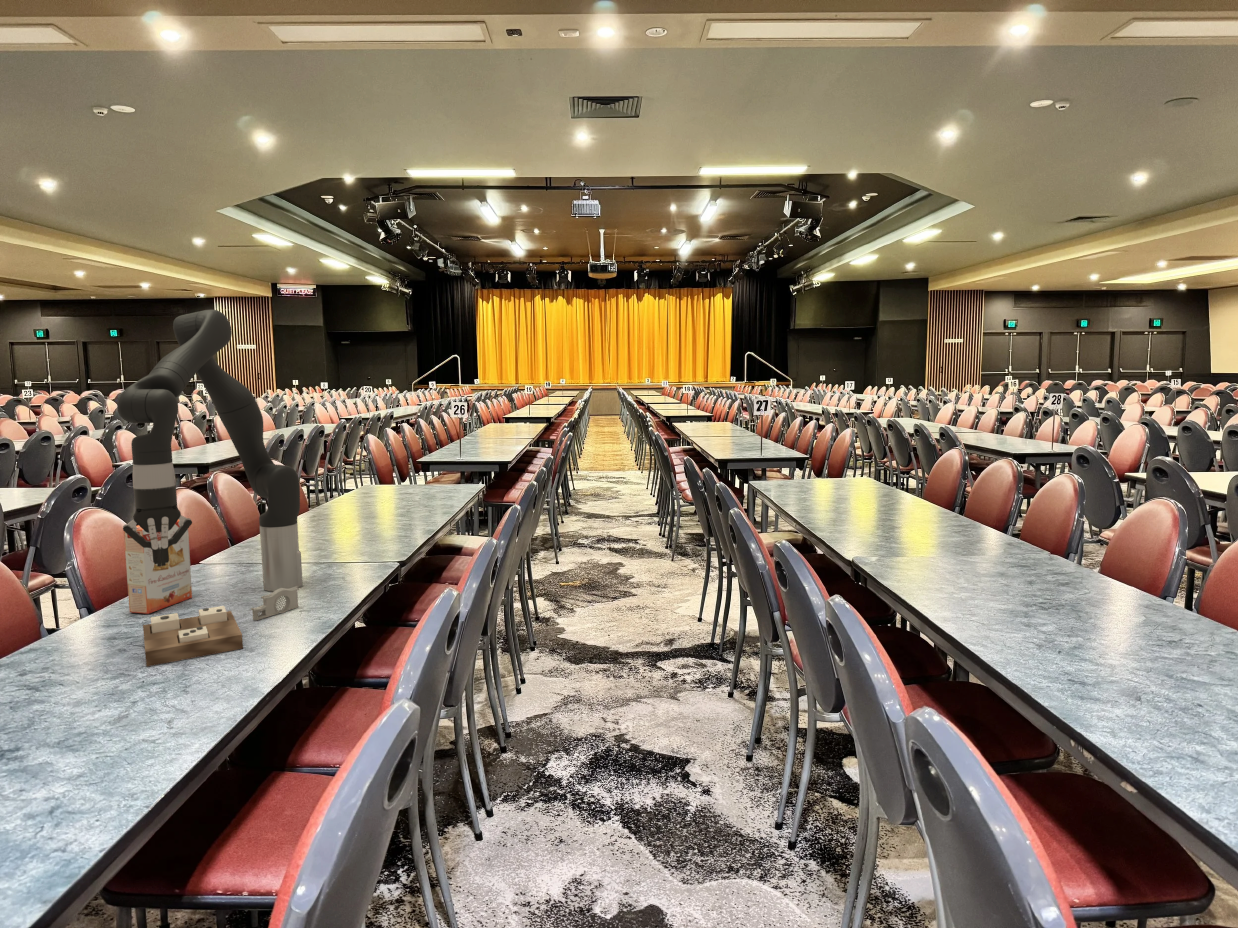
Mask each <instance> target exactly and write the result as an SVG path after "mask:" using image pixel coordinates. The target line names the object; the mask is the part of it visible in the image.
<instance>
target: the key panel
mask: <svg viewBox="0 0 1238 928" xmlns="http://www.w3.org/2000/svg"><path fill="white" fill-rule="evenodd" d="M226 611H227V610H226ZM179 624H180V629H175V630H169V631H163V632H157V633H152V627H151V623H147V624H143V625H142V628H143V629H142V630H143V631H142V633H143V641H144V642H143V643H144V653H145V654H144V655H145V665H146V667H147V668H148V667H151V666H156V665H157V666H159V665H163V664H167V663H174V662H178V661H179V662H180V661H183V660H188V659H189V660H190V659H193V658H200V657H204V656H210V655H217V654H220V653H226V652H232V651H238V650H241V649H244V643H243V634H242V632H241V629H240V627H239V625H238V623H237V621H236V619H235V616H234V615H233V612H232V610H228V611H227V621H223V622H217V623H211V624H205V625H200V621H199V615H197V616H196V615H195V616H192V617H186V618H179ZM204 626H206V628H207V631H208V638H206V639H200V640H195V641H189V642H183V643H179V634H178V631H181V630H186V629H192V628H197V627H204Z"/></svg>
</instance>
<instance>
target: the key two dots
mask: <svg viewBox="0 0 1238 928" xmlns="http://www.w3.org/2000/svg"><path fill="white" fill-rule="evenodd" d="M198 616H199V621H200V625H205V624H211V623H217V622H223V621H227V609H226V607H225V605H221V606H214V607H209V608H208V607H206V608H203V609H198Z"/></svg>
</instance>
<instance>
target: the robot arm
mask: <svg viewBox="0 0 1238 928" xmlns="http://www.w3.org/2000/svg"><path fill="white" fill-rule="evenodd" d="M172 328H173V329H172V330H173V333H174V337H175V339H176V341H177V343H178V345H179V347H177V348H175V349H174V350H172V351H171V352H169V353H167V354H166V355H164V356H163V357H162V358H161V359H160V360H159V361H158V362H157V363H156V365H154V367H153V368H152V370H151V371H150V372H149V374H147V375H145V376H143V377H142V378H140V379H139V380H137V381H135V382H134V383H132V384H131V385H130V386H128V387H127V388H125V389H124V390H123V391H122V392H121V394H120V396H119V398H118V401H117V404H116V408H117V412H118V414H119V416H120V418H121V419H123V421H126V422H127V423H130V424H131V423H132V424H152V428H151V430H150V432H149V433H146V434H142V435H137V436H135V437H133V438H132V440H131V443H130V444H131V454H132V455H131V457H132V486H133V495H134V496H133V499H134V513H133V517H132V520H130V521H129V522H128V523H127V524H123V526H122V530H123V533H124V532H126V533H127V534H128V535H129V536H130V537H131V538H133V539H134V540H135V541H136V542H137V543H138V544H140V545H141V546H142V547H143V548H151V549H152V553H153V562H154V564H157V565H158V566H166V563H168V562H169V553H168V548H169V547H170V546H171V545H173V544H177V542H178V541H179V540H180V539H181V537H182V536H183V535H184V533H185V532H186V531H187V529H188V530H189V528H190V527H191V525H192V524H193V520H192V519H191V518H189V517H185V516H183V515H182V513H181V511H180V510H179V508H178V498H177V497H178V496H177V495H178V494H177V485H176V484H177V483H176V482H177V480H176V471H175V468H174V463H173V451H172V439H173V435H174V430H175V426H176V425H175V424H176V421H177V417H178V412H179V403H178V399H177V398H178V397H179V396H180V395H181V394H182V393H183V391H184V390H185V388H186V387H187V386H188V384H189V382H190V381H191V380H192V378H193V377H194V376H195V375H196V374H197V375H198V378H199V379H200V381H201V383H202V385H203V386H204V389H205V391H206V392H207V394H208V397H209V398H210V401H211V402H212V404H213V406H214V408H215V410H216V413H217V415H218V417H219V419H220V421H221V422H222V425H223V426H224V428H225V430H226V432H227V434H228V436H229V438H230V440H231V442H232V444H233V447H234V448H235V450H236V452H237V454H238V456H239V458H240V460H241V463H242V466H243V469H244V472H245V475H246V477H247V480H248V483H249V485H250V487H251V489H252V491H253V492H254V493H255V494H256V495H257V496H258V497H261V498H263V499H268V500H267V510H266V511H265V512H263V513H262V514H260V515H259V517H258V518H259V519H258V522H259V523H258V524H259V538H260V539H259V540H260V551H261V552H260V553H261V568H262V583H263V590H265V591H266V592H267V591H268V592H274V591H276V590H277V589H280V588H285V589H291V588H293V587H296V586H297V588H300V587H303V586H304V583H303V582H304V580H303V567H302V563H303V562H302V552H301V550H300V545H299V528H298V526H299V525H298V517H299V514H300V511H301V488H300V487H301V486H300V485H301V484H300V482H301V481H300V478H299V474H298V472H297V471H296V470H295V469H294V468H293V467H291V466H289V465H286V464H285V465H284V464H275V462H274V461H273V460H272V458H271V456H270V454H269V452H268V451H267V448H266V446H265V442H264V417H263V414H262V410H261V409H260V407H259V405H258V403H257V401H256V399H255V397H254V394H253V392H252V391H251V390H250V389H249V388H247V386H245V385H244V384H243V383H241V382H240V381H239V380H238V379H236V378H234V376H232V375H230V374H229V373H228V372H226V370H224V369H223V368H222V367H221V366H220V365H219V364H218V362H217V361H216V359H215V358H214V356H215V355H216V354H217V353H218V352H219V351H221V350H222V349H224V348H225V347H226V346H227V345H228V344H229V343H230V341H231V338H232V336H233V335H232V334H233V333H232V331H233V330H232V327H231V323H230V321H229V319H228V317H226V315H225V314H224V313H223V312H221V310H216V309H205V310H200V311H199V310H198V311H195V312H191V313H186V314H182V315H179V316H177V317H175V319H174V320H173V324H172ZM178 519H179V523H178V524H179V526H180V527H179V528H178V530H177V531H176V532H175V534H174V535H173V536H172V537H171V538H170V539H168V531H169V530H171V529H172V528H173V526H174V525H175V523H176V522H177V521H178ZM138 525H139V526H140V527H141V528H142V529H143V530H144V531H145V532H147V533H149V534H150V540H151V541H147V540H146V539H144V538H143V537H142V536H141V535H140V534H139V533H138V532H136V531H137V527H136V526H138ZM157 532H161V547H159V544H158V540H157V534H156V533H157ZM160 552H161V553H160ZM161 564H162V565H161Z"/></svg>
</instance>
